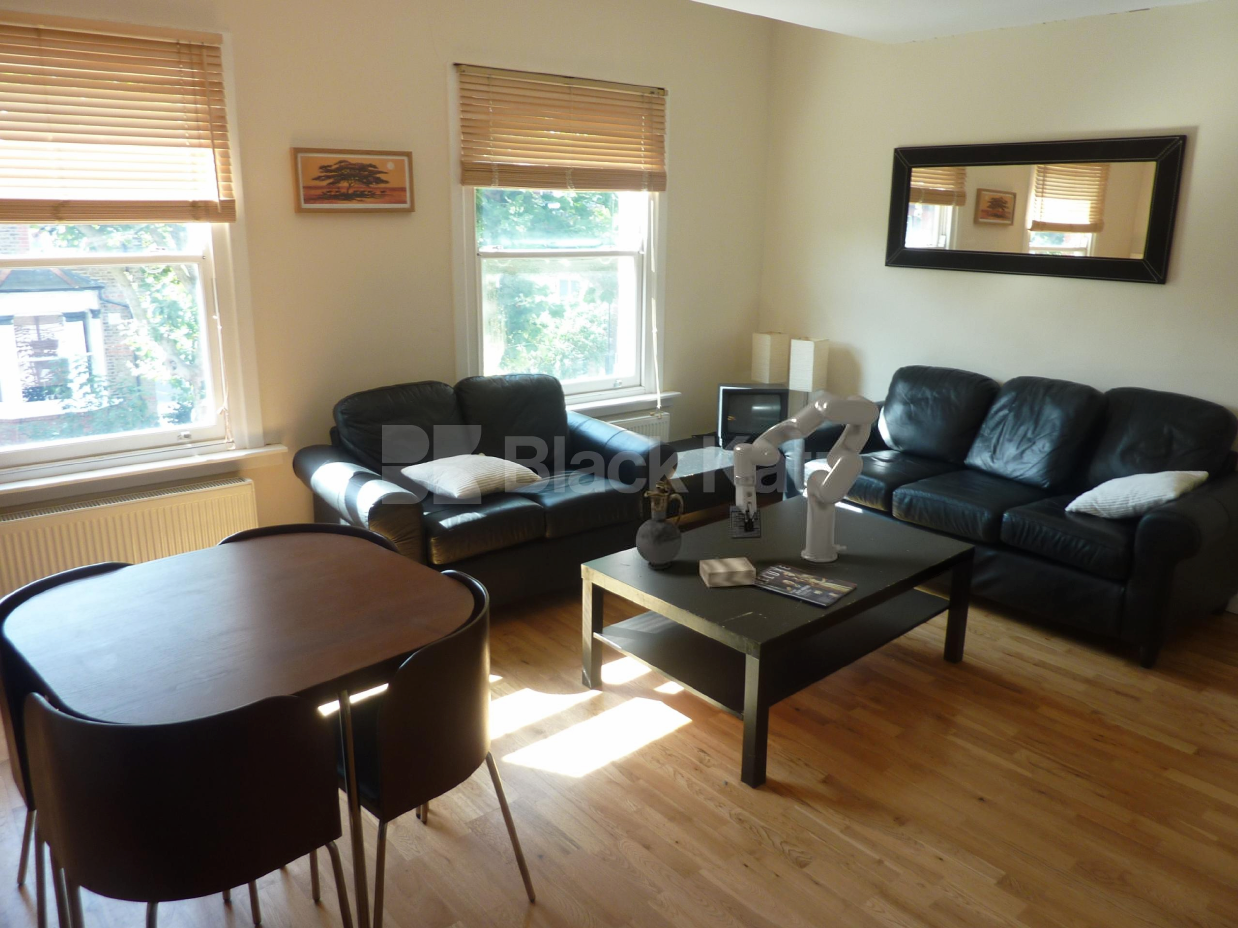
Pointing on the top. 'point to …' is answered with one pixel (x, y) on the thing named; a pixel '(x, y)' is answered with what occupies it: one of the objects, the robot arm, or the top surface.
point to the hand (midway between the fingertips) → (745, 527)
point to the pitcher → (659, 530)
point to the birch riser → (727, 572)
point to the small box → (738, 523)
